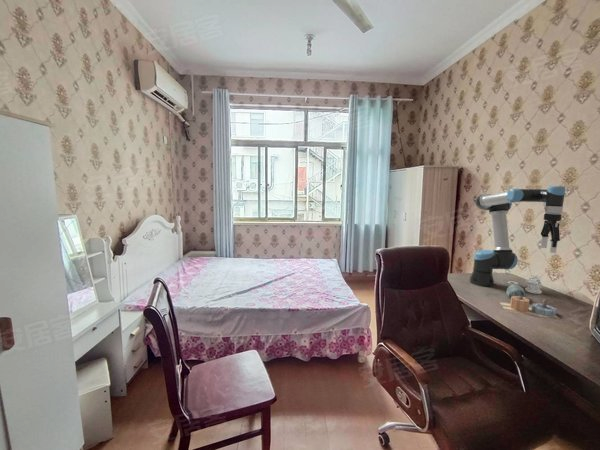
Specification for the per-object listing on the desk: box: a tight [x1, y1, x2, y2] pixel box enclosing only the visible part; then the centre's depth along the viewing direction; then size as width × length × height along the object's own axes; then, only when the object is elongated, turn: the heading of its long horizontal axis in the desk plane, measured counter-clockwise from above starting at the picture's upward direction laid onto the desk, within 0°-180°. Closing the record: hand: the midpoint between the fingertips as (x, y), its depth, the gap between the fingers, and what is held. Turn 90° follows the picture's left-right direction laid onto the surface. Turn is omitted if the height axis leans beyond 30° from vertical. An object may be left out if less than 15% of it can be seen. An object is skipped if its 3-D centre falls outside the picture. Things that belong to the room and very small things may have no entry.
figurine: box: [524, 274, 543, 295], centre depth 195 cm, size 12×9×10 cm
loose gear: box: [509, 296, 531, 312], centre depth 165 cm, size 8×8×6 cm
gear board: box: [499, 296, 560, 320], centre depth 164 cm, size 14×24×8 cm, turn 67°
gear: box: [531, 302, 557, 316], centre depth 162 cm, size 10×10×3 cm
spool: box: [506, 284, 526, 299], centre depth 182 cm, size 14×10×10 cm
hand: (547, 250), depth 170 cm, fingers open, 13 cm apart
